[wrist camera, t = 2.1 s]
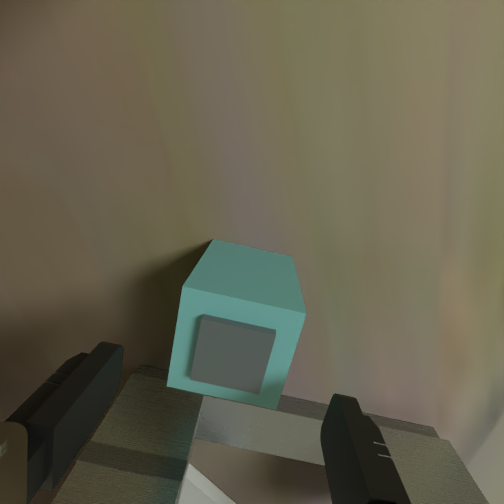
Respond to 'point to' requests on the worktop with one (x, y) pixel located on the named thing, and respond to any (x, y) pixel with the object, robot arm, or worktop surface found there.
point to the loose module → (237, 325)
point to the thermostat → (201, 490)
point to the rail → (235, 445)
